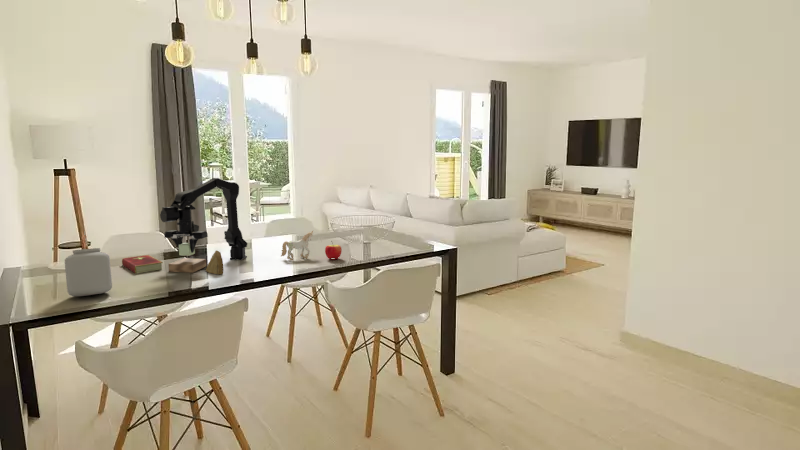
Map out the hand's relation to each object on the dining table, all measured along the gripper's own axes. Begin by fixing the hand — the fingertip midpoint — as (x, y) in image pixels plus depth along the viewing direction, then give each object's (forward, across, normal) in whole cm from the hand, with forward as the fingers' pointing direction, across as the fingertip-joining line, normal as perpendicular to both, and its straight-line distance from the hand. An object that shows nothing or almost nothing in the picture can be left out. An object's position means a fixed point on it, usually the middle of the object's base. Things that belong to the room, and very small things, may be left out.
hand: (187, 252), depth 233 cm
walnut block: (+8, 0, 0) cm, 8 cm away
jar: (+8, +15, +44) cm, 47 cm away
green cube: (+1, 0, 0) cm, 1 cm away
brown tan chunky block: (+8, -16, +5) cm, 19 cm away
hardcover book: (+9, +23, +1) cm, 24 cm away
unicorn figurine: (+8, -44, -31) cm, 54 cm away
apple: (+8, -63, -30) cm, 70 cm away
